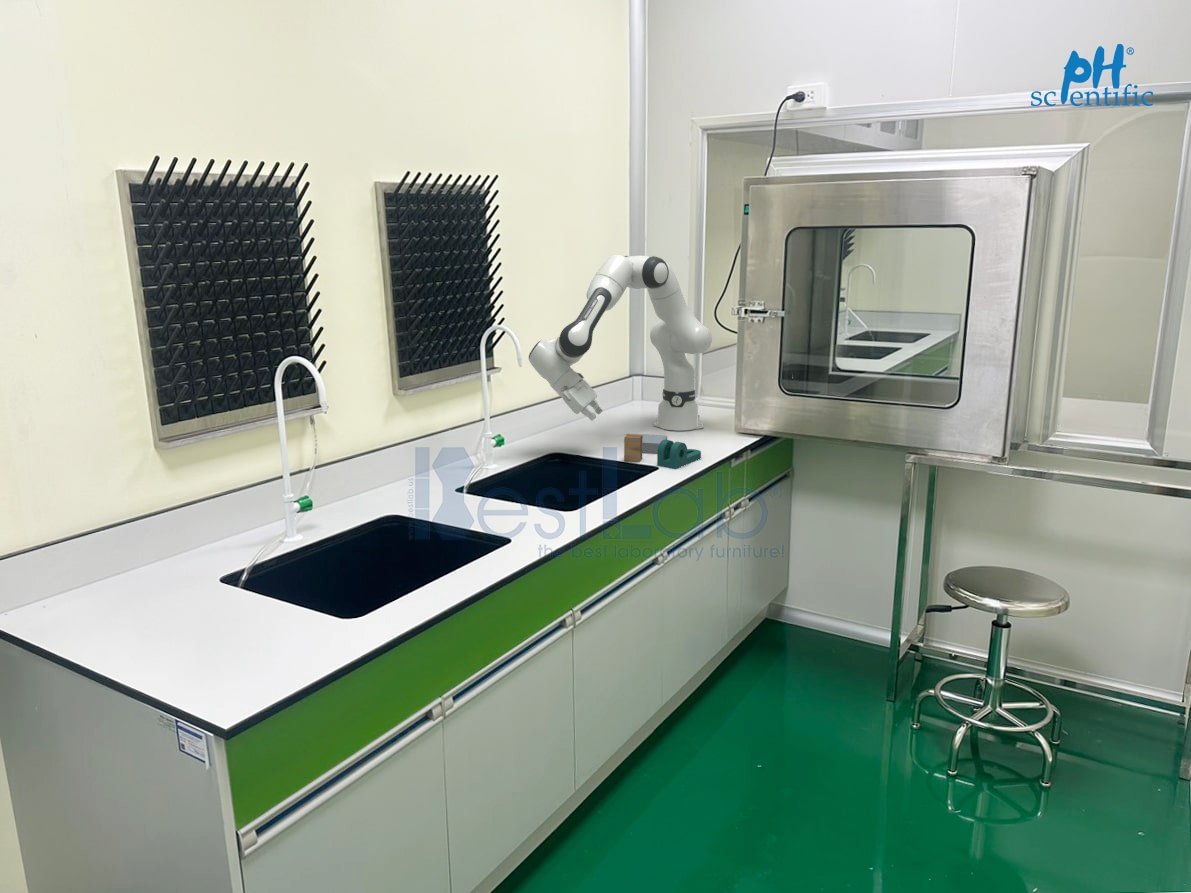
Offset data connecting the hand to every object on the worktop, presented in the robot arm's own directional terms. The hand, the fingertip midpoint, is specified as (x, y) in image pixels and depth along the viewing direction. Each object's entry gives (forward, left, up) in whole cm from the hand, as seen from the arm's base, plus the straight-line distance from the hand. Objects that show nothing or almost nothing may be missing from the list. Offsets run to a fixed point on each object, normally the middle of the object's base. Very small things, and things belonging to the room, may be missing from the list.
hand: (597, 415), depth 276 cm
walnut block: (0, +12, -14) cm, 18 cm away
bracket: (-2, +27, -14) cm, 31 cm away
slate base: (-15, +14, -14) cm, 25 cm away
